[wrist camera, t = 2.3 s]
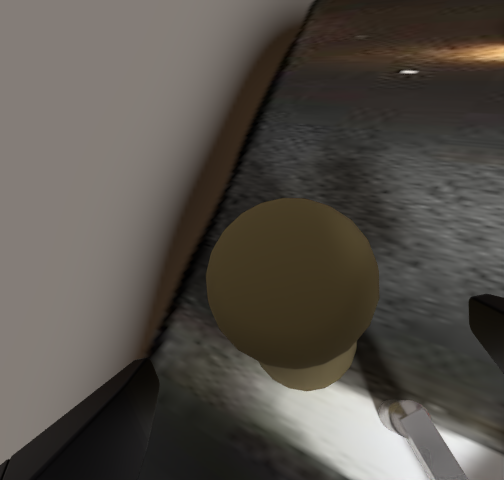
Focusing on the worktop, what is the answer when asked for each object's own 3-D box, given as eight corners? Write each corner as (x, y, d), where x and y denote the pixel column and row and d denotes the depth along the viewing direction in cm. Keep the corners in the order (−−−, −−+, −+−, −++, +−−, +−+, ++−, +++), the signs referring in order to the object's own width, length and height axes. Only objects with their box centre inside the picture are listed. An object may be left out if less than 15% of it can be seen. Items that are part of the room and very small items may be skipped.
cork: (232, 323, 19) (140, 246, 9) (308, 264, 19) (299, 135, 10) (295, 416, 16) (259, 450, 6) (381, 343, 16) (470, 269, 7)
